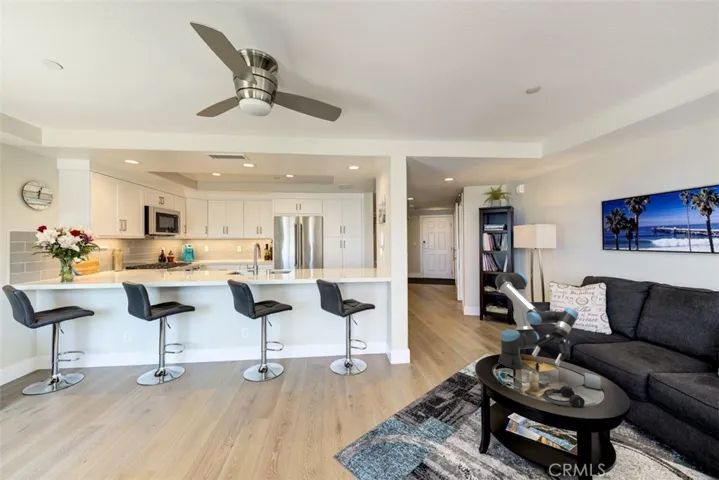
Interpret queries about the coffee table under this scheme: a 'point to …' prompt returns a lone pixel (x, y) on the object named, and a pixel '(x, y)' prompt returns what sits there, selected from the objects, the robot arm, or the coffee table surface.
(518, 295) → the robot arm
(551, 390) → the headset
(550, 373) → the coffee table surface
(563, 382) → the coffee table surface
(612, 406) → the coffee table surface
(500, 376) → the sunglasses
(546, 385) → the block
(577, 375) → the coffee table surface
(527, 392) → the plywood panel
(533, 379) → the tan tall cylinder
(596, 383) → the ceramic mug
